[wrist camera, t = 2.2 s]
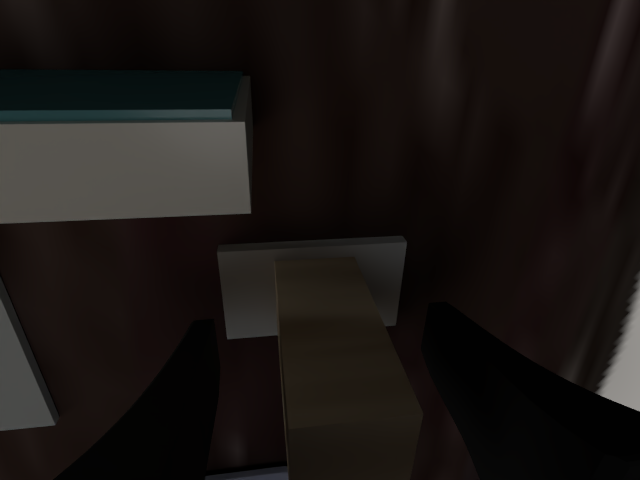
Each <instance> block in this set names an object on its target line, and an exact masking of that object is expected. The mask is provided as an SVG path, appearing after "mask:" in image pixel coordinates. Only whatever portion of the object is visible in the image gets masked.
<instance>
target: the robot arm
mask: <svg viewBox="0 0 640 480" xmlns="http://www.w3.org/2000/svg"><path fill="white" fill-rule="evenodd" d="M421 351H422V353H423V356H424V359H425V362H426V365H427V368H428V370H429V373H430V375H431V377H432V379H433V382H434V383H435V385H436V387H437V389H438V391H439V393H440V395H441V397H442V399H443V401H444V403H445V405H446V407H447V409H448V411H449V412H450V414H451V416H452V418H453V420H454V422H455V424H456V426H457V428H458V430H459V432H460V433H461V435H462V438H463V440H464V442H465V444H466V446H467V448H468V451H469V453H470V456H471V458H472V461H473V463H474V466H475V468H476V471H477V473H478V476H479V478H480V480H640V412H639V411H637V410H634V409H632V408H629V407H627V406H624V405H622V404H619V403H617V402H614V401H612V400H609V399H607V398H605V397H602V396H600V395H598V394H595V393H593V392H591V391H589V390H587V389H585V388H582V387H580V386H578V385H576V384H574V383H572V382H570V381H568V380H566V379H564V378H562V377H560V376H558V375H556V374H554V373H553V372H551V371H549V370H547V369H545V368H544V367H542V366H540V365H538V364H536V363H535V362H533V361H531V360H530V359H528V358H526V357H525V356H523V355H522V354H520V353H519V352H517V351H515V350H514V349H512V348H511V347H509V346H508V345H506V344H505V343H503V342H502V341H500V340H499V339H497V338H496V337H494V336H493V335H492V334H490V333H489V332H487V331H486V330H485V329H483V328H482V327H480V326H479V325H478V324H476V323H475V322H474V321H472V320H471V319H469V318H468V317H467V316H465V315H464V314H463V313H461V312H460V311H459V310H457V309H456V308H454V307H453V306H451V305H450V304H448V303H447V302H436V303H429V306H428V311H427V317H426V322H425V328H424V333H423V339H422V344H421ZM219 380H220V362H219V354H218V347H217V339H216V332H215V324H214V319H208V320H194V321H193V322H192V323H191V325H190V326H189V328H188V330H187V331H186V333H185V335H184V336H183V338H182V340H181V341H180V343H179V344H178V346H177V348H176V349H175V351H174V352H173V354H172V355H171V356H170V358H169V359H168V361H167V362H166V364H165V365H164V366H163V368H162V369H161V371H160V372H159V373H158V375H157V376H156V377H155V378H154V380H153V381H152V382H151V384H150V385H149V386H148V387H147V389H146V390H145V391H144V392H143V394H142V395H141V396H140V397H139V398H138V400H137V401H136V402H135V403H134V404H133V405H132V406H131V408H130V409H129V410H128V411H127V412H126V413H125V414H124V415H123V416H122V417H121V418H120V419H119V420H118V422H117V423H116V424H115V425H114V426H113V427H111V428H110V429H109V430H108V431H107V432H106V433H105V434H104V435H103V436H102V437H101V438H100V439H99V440H98V441H97V442H96V443H95V444H94V445H93V446H92V447H91V448H90V449H89V450H88V451H86V452H85V453H84V454H83V455H82V456H81V457H79V458H78V459H77V460H76V461H75V462H74V463H72V464H71V465H70V466H69V467H68V468H67V469H65V470H64V471H63V472H62V473H61V474H59V475H58V476H57V477H56V478H55V479H53V480H288V467H287V466H280V467H272V468H264V469H256V470H248V471H240V472H233V473H225V474H217V475H209V476H205V475H206V468H207V461H208V455H209V450H210V444H211V438H212V432H213V427H214V421H215V415H216V409H217V403H218V397H219Z"/></svg>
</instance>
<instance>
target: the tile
mask: <svg viewBox="0 0 640 480" xmlns="http://www.w3.org/2000/svg"><path fill="white" fill-rule="evenodd" d="M252 146H253V119H252V102H251V85H250V76H243V71H167V70H27V69H0V224H1V223H26V222H50V221H75V220H99V219H124V218H149V217H173V216H198V215H222V214H247V213H251V190H252Z"/></svg>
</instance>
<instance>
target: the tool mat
mask: <svg viewBox="0 0 640 480" xmlns="http://www.w3.org/2000/svg"><path fill="white" fill-rule="evenodd" d="M58 419H59V415H58V412H57V410H56V408H55V405H54V403H53V400H52V398H51V396H50V393H49V391H48V389H47V386H46V384H45V381H44V379H43V377H42V374H41V372H40V370H39V367H38V365H37V362H36V360H35V358H34V355H33V353H32V351H31V348H30V346H29V343H28V341H27V339H26V336H25V334H24V332H23V329H22V327H21V324H20V322H19V320H18V317H17V315H16V313H15V310H14V308H13V305H12V303H11V301H10V298H9V296H8V294H7V291H6V289H5V286H4V284H3V282H2V279H1V277H0V431H3V430H13V429H22V428H32V427H42V426H51V425H56V423H57V421H58Z"/></svg>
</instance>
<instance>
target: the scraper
mask: <svg viewBox="0 0 640 480" xmlns="http://www.w3.org/2000/svg"><path fill="white" fill-rule="evenodd" d="M406 246H407V242H406V240H405V239H404V237H403V236H386V237H366V238H346V239H326V240H307V241H287V242H267V243H247V244H227V245H218V250H217V255H218V264H219V272H220V281H221V290H222V298H223V307H224V315H225V324H226V332H227V339H237V338H249V337H261V336H273V335H278V345H279V359H280V372H281V386H282V399H283V413H284V426H285V440H286V453H287V467H288V480H410V476H411V472H412V467H413V462H414V457H415V452H416V447H417V442H418V437H419V433H420V428H421V423H422V418H423V412H422V410H421V407H420V405H419V403H418V400H417V398H416V396H415V394H414V391H413V389H412V387H411V384H410V382H409V380H408V378H407V375H406V373H405V371H404V368H403V366H402V364H401V362H400V359H399V357H398V355H397V353H396V350H395V348H394V346H393V343H392V341H391V339H390V337H389V334H388V332H387V330H386V327H385V326H395V325H396V319H397V312H398V305H399V297H400V290H401V283H402V275H403V268H404V261H405V253H406Z"/></svg>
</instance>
